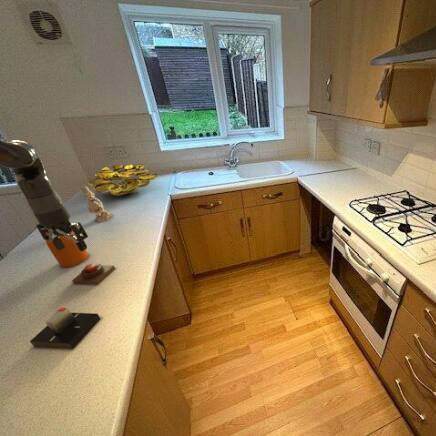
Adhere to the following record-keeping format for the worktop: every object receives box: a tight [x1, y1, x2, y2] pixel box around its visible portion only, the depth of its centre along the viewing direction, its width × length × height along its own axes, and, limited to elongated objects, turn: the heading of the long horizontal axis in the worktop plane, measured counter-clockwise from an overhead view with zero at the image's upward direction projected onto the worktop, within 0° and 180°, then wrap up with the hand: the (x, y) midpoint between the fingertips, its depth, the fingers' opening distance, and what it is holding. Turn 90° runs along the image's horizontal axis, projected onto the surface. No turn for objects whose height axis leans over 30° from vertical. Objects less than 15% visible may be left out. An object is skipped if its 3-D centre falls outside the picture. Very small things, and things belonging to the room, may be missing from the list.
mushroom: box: [86, 163, 158, 196], centre depth 170 cm, size 41×45×17 cm
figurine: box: [81, 186, 113, 223], centre depth 132 cm, size 9×8×20 cm
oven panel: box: [29, 312, 101, 350], centre depth 71 cm, size 12×10×3 cm
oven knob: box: [44, 307, 75, 334], centre depth 69 cm, size 5×2×5 cm, turn 175°
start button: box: [83, 263, 97, 273], centre depth 92 cm, size 4×4×2 cm
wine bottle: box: [45, 231, 89, 268], centre depth 96 cm, size 10×10×30 cm
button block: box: [71, 263, 116, 285], centre depth 93 cm, size 10×9×4 cm
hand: (72, 249), depth 83 cm, fingers open, 8 cm apart
